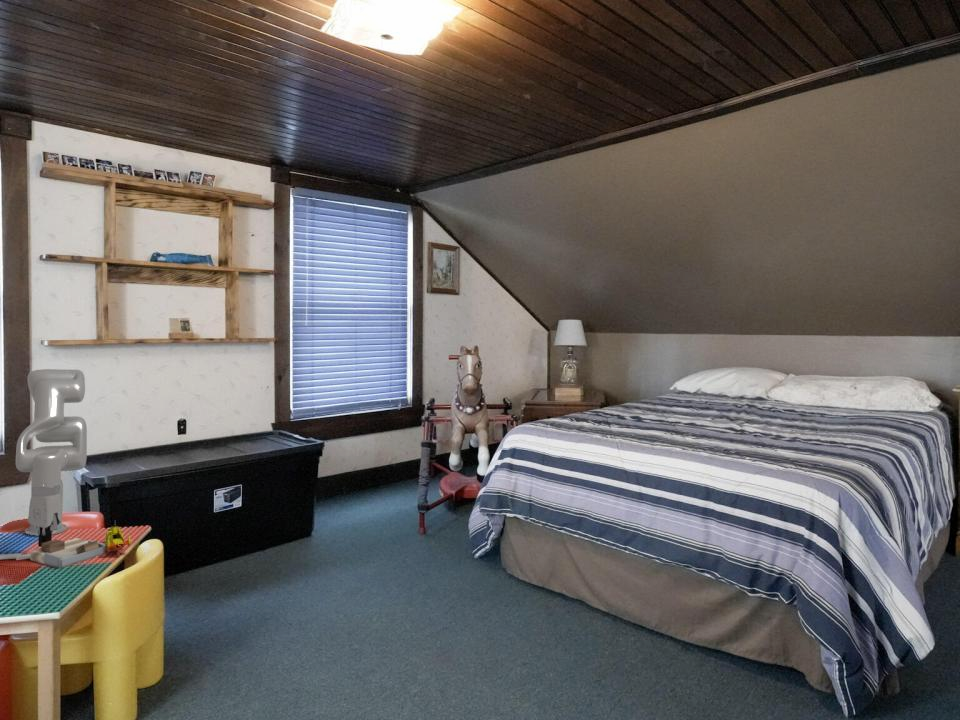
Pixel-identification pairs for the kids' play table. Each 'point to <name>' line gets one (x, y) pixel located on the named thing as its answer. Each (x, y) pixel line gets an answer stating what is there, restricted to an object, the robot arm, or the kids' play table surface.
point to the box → (72, 557)
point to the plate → (69, 549)
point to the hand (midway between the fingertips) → (44, 545)
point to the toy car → (115, 539)
